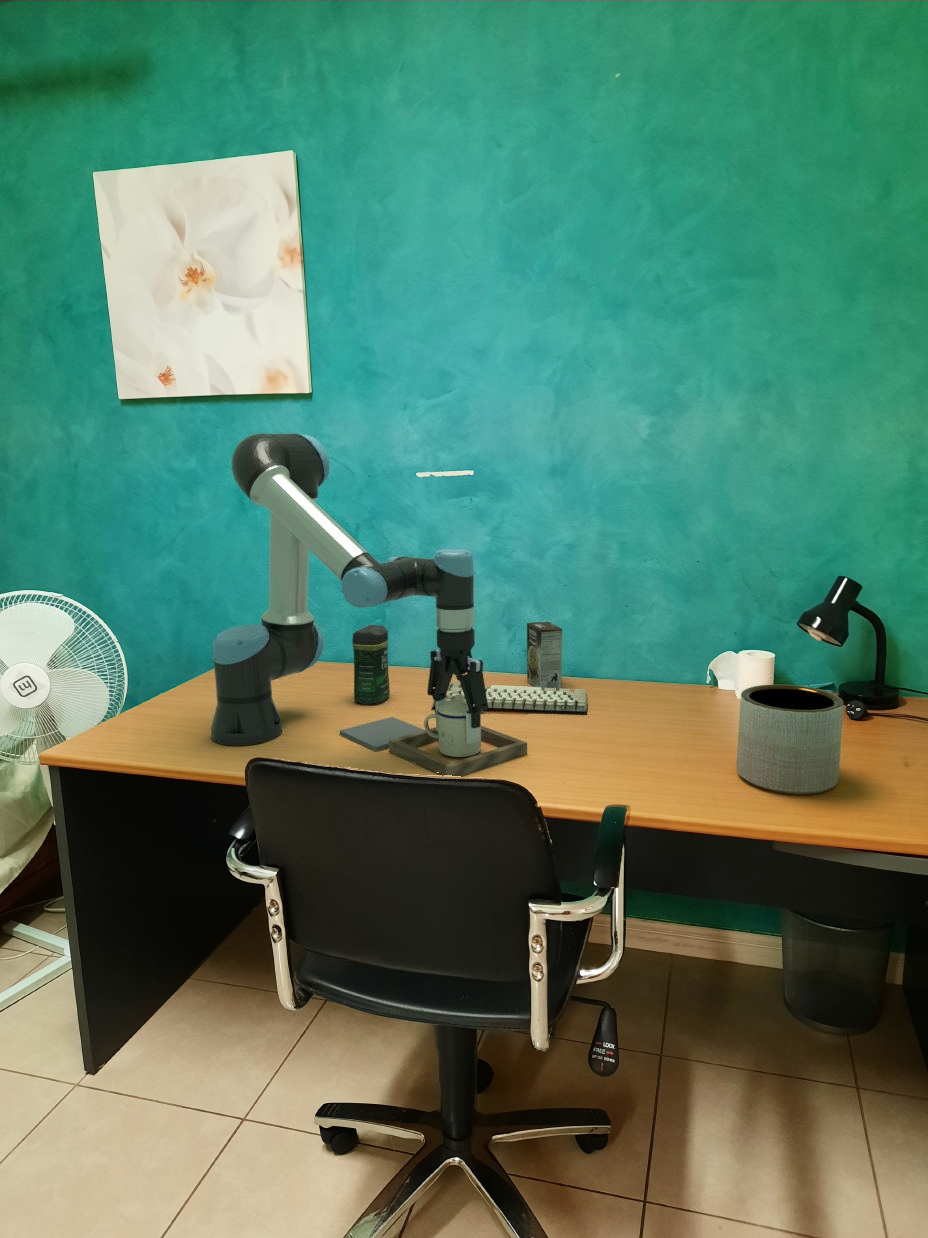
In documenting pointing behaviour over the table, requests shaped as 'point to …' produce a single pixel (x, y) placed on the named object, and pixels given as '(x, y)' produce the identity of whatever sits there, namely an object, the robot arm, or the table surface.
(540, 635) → the coffee box
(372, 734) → the mat
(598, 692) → the table surface
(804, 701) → the planter
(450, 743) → the teacup with lid
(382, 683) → the coffee jar
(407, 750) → the frame
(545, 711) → the mechanical keyboard
